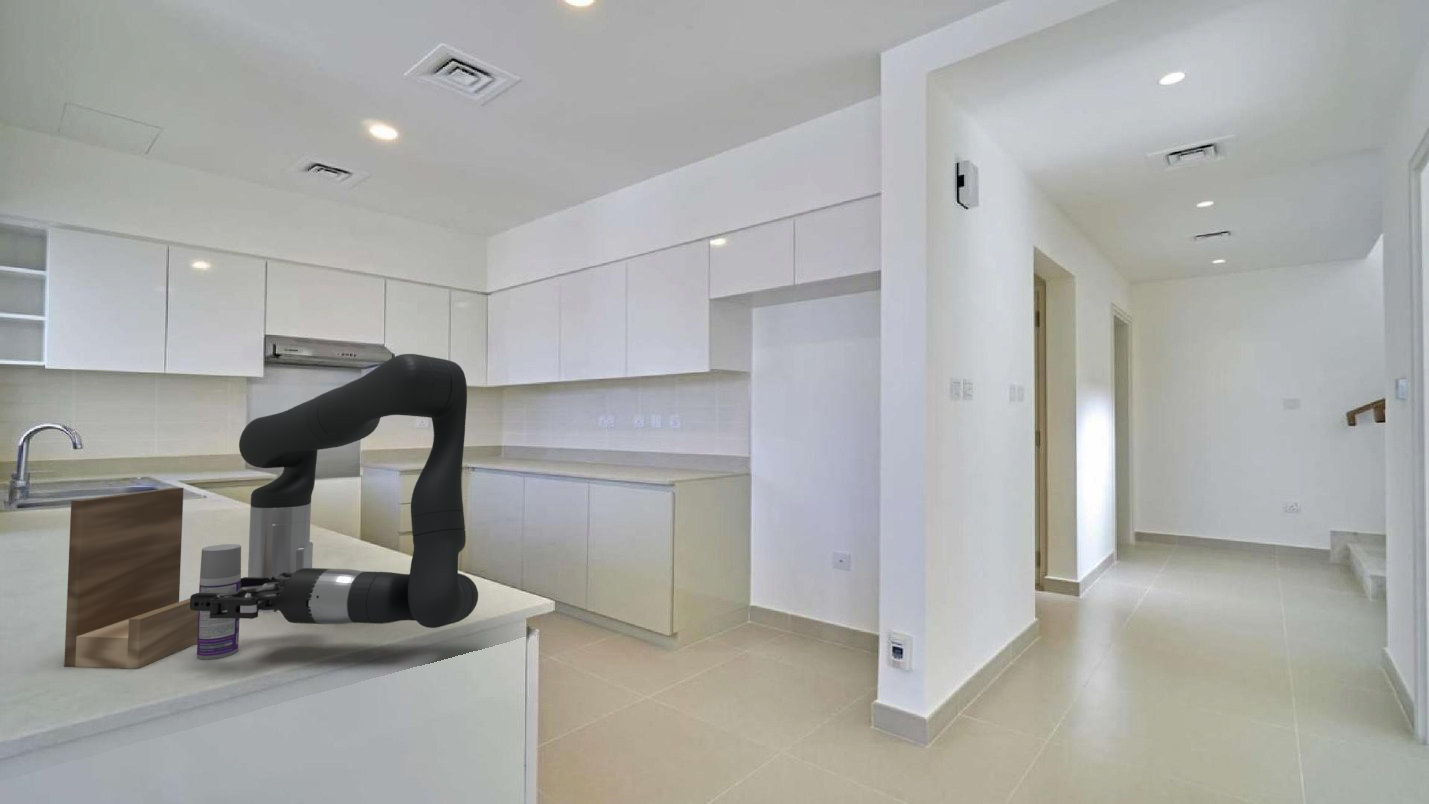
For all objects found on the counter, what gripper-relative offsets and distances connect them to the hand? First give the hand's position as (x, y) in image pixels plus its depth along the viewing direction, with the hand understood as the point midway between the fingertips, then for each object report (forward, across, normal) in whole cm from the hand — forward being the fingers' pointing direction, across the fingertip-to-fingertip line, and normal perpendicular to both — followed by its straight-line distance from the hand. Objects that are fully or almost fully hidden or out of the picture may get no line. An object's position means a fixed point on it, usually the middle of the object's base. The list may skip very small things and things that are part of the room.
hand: (217, 592), depth 91 cm
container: (0, 0, +9) cm, 9 cm away
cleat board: (+10, -2, +9) cm, 14 cm away
